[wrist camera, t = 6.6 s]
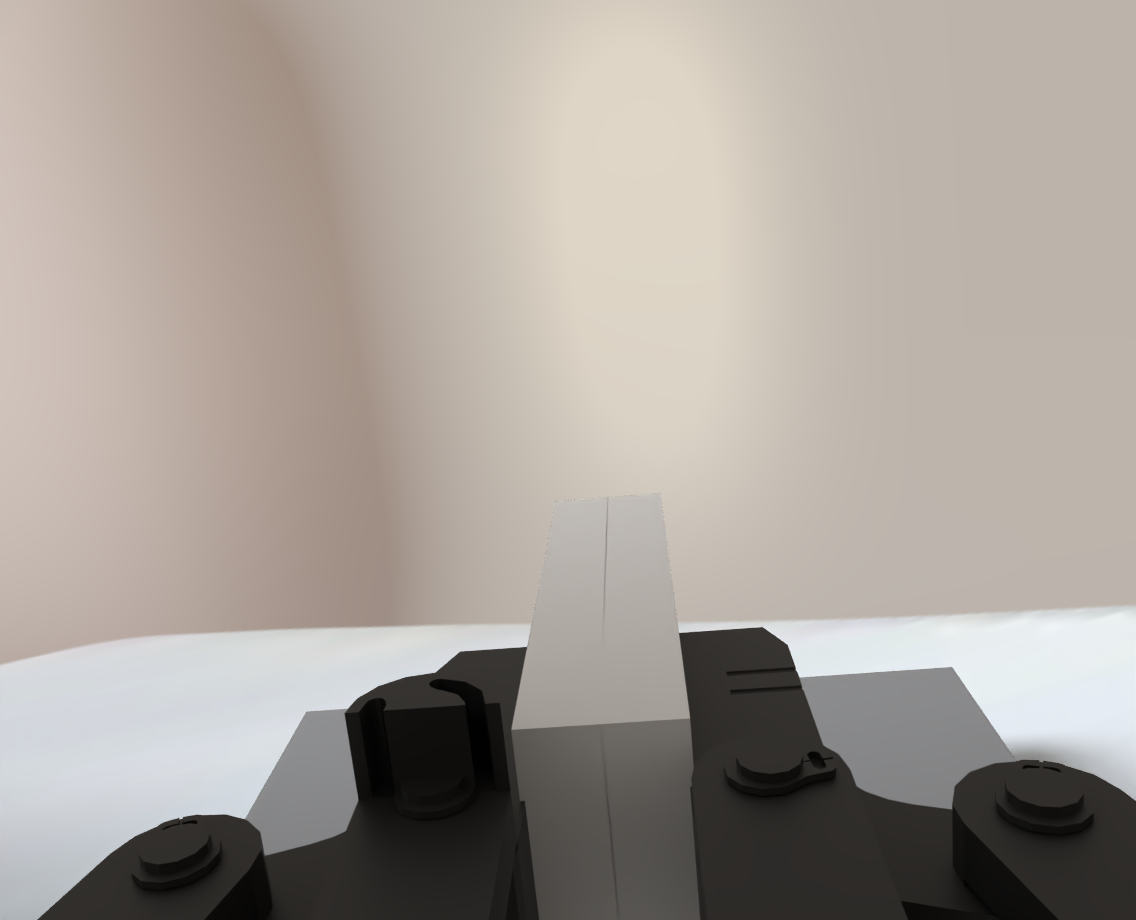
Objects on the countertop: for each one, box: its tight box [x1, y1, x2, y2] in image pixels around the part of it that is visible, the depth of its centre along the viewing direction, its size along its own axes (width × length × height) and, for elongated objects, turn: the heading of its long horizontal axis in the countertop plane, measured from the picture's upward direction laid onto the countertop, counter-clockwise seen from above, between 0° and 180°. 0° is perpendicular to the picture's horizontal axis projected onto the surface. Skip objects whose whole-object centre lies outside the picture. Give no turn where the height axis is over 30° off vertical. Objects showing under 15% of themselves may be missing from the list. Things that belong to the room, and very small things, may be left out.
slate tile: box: [245, 667, 1016, 856], centre depth 20 cm, size 16×2×14 cm
